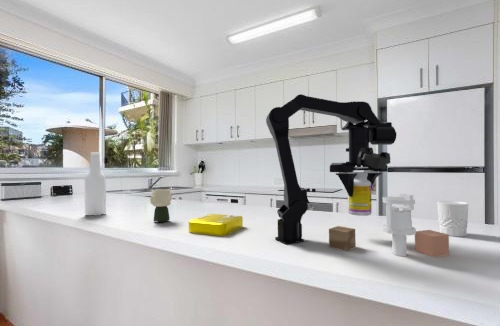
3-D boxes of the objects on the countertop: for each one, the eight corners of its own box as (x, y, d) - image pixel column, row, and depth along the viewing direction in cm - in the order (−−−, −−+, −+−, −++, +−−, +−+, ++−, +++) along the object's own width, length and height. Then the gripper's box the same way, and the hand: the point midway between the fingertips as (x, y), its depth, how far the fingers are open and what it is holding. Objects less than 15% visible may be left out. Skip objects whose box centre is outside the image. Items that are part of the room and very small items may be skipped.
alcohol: (109, 213, 128) (109, 152, 129) (91, 216, 121) (90, 151, 121) (99, 212, 133) (99, 153, 133) (81, 215, 125) (80, 152, 126)
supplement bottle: (374, 216, 76) (373, 172, 76) (349, 215, 77) (349, 172, 77) (368, 212, 82) (368, 171, 82) (346, 211, 84) (346, 171, 84)
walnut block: (346, 251, 68) (345, 232, 68) (329, 247, 72) (328, 228, 72) (355, 247, 71) (355, 228, 71) (338, 243, 75) (338, 225, 75)
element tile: (210, 224, 104) (210, 212, 104) (244, 227, 97) (244, 214, 97) (186, 233, 90) (186, 219, 90) (224, 237, 84) (224, 222, 84)
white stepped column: (403, 260, 61) (401, 195, 61) (377, 251, 67) (376, 193, 67) (423, 256, 63) (421, 194, 64) (396, 248, 70) (395, 191, 70)
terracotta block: (433, 257, 63) (433, 236, 63) (415, 250, 68) (414, 231, 68) (449, 254, 64) (448, 234, 64) (429, 248, 69) (429, 229, 69)
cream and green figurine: (165, 218, 114) (164, 188, 115) (177, 219, 111) (177, 189, 111) (144, 223, 105) (144, 191, 105) (157, 225, 101) (157, 191, 102)
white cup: (464, 232, 85) (463, 201, 85) (472, 238, 78) (472, 204, 78) (435, 230, 88) (434, 200, 88) (440, 235, 81) (439, 203, 81)
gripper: (358, 141, 69) (358, 201, 68) (403, 143, 77) (404, 197, 77) (328, 144, 79) (328, 196, 78) (371, 146, 87) (371, 193, 87)
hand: (359, 195), depth 80 cm, fingers closed on supplement bottle, 7 cm apart
